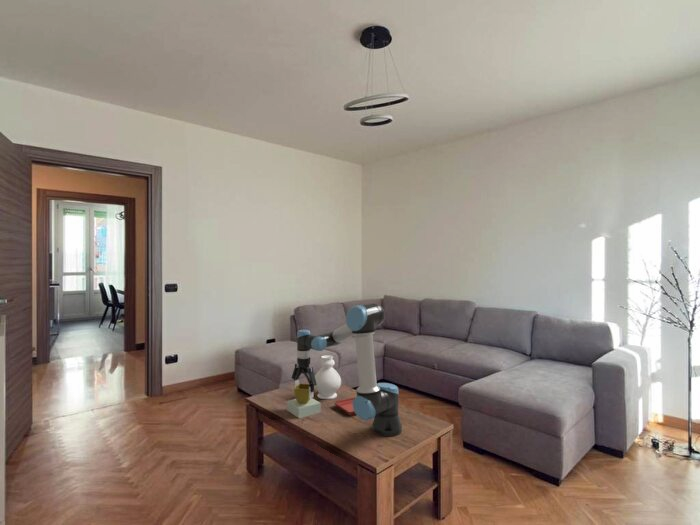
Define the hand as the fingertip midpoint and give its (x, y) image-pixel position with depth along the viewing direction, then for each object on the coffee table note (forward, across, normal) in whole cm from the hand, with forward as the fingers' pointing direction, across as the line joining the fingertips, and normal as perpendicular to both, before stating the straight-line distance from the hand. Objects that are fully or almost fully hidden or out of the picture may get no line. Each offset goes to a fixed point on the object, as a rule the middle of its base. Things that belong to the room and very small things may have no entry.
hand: (303, 394), depth 218 cm
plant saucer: (+10, -18, -23) cm, 31 cm away
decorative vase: (+10, +9, -26) cm, 29 cm away
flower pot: (+4, 0, 0) cm, 4 cm away
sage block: (+10, 0, 0) cm, 10 cm away
